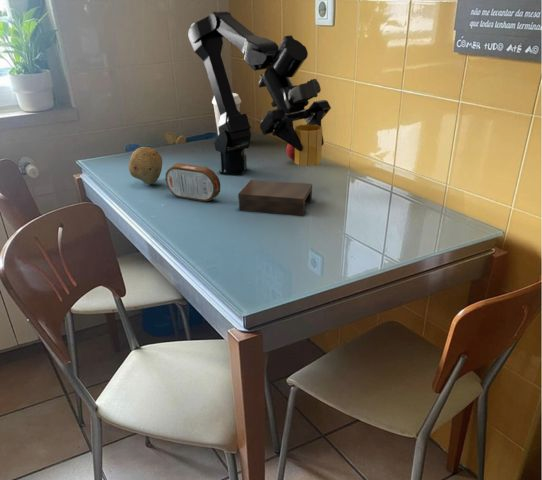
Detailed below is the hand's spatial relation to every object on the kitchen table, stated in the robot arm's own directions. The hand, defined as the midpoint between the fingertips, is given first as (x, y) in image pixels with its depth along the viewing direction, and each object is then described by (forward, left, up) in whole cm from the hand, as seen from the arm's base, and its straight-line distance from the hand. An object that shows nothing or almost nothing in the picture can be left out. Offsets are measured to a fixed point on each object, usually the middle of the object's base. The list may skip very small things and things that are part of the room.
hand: (311, 147), depth 130 cm
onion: (-11, +31, -13) cm, 36 cm away
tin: (-30, -5, -13) cm, 33 cm away
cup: (-1, +1, -4) cm, 4 cm away
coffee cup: (-38, +48, -13) cm, 63 cm away
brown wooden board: (-8, -5, -13) cm, 16 cm away
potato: (-46, +3, -13) cm, 48 cm away
